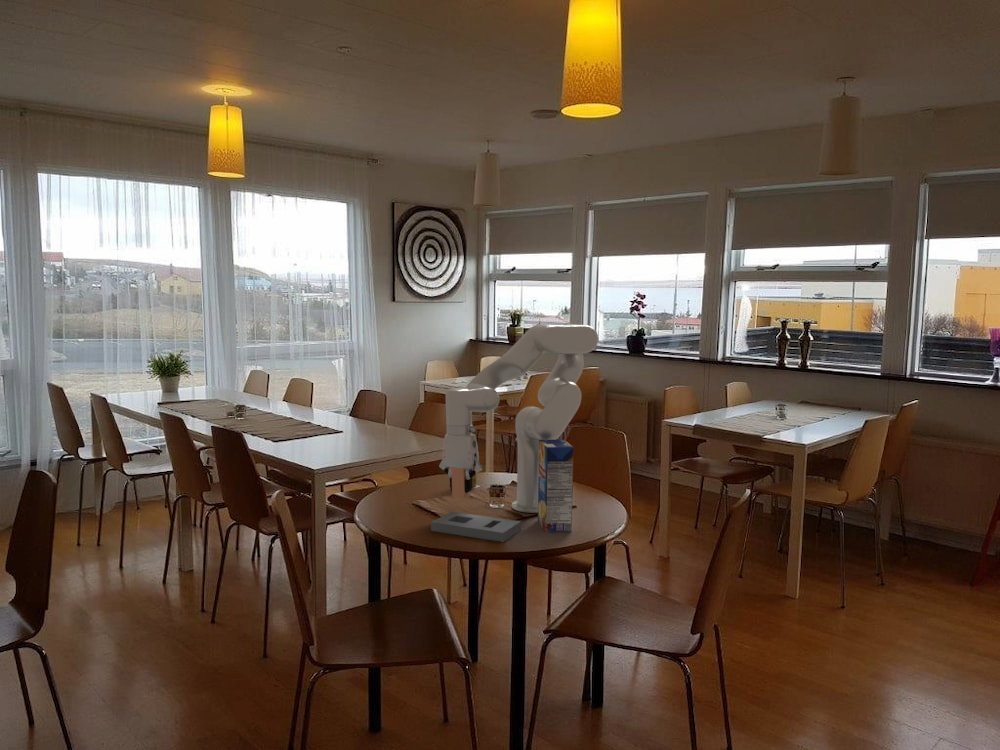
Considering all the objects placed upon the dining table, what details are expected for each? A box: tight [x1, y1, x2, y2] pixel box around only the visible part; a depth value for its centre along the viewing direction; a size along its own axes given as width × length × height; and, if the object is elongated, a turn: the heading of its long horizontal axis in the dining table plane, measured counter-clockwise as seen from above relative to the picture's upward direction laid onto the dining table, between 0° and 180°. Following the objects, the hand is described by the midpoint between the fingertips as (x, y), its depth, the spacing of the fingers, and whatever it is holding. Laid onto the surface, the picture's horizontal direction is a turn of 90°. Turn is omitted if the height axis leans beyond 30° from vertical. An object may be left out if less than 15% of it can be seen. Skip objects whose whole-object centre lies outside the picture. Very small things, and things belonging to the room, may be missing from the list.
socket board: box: [430, 511, 522, 543], centre depth 213 cm, size 12×22×2 cm, turn 65°
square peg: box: [451, 468, 471, 499], centre depth 226 cm, size 4×4×9 cm
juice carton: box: [537, 439, 575, 534], centre depth 217 cm, size 12×8×24 cm, turn 7°
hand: (461, 490), depth 226 cm, fingers closed on square peg, 4 cm apart
